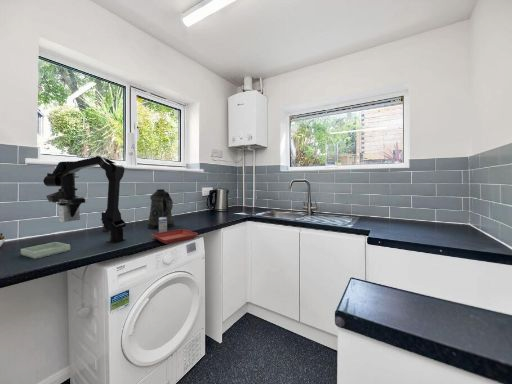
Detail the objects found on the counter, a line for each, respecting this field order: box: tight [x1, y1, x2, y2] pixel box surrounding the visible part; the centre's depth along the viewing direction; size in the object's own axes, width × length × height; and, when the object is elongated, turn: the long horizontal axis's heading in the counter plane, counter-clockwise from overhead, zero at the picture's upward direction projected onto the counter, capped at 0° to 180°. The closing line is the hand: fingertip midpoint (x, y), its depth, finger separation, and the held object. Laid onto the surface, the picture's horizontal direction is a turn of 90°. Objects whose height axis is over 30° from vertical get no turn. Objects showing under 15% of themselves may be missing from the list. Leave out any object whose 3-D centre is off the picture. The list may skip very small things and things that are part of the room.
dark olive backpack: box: [146, 188, 175, 230], centre depth 151 cm, size 16×19×25 cm
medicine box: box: [158, 217, 168, 233], centre depth 134 cm, size 8×4×9 cm, turn 23°
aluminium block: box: [58, 205, 81, 223], centre depth 116 cm, size 4×7×8 cm, turn 155°
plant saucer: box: [151, 228, 199, 245], centre depth 119 cm, size 18×18×3 cm
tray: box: [20, 241, 71, 260], centre depth 97 cm, size 12×12×2 cm
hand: (69, 216), depth 117 cm, fingers closed on aluminium block, 4 cm apart
